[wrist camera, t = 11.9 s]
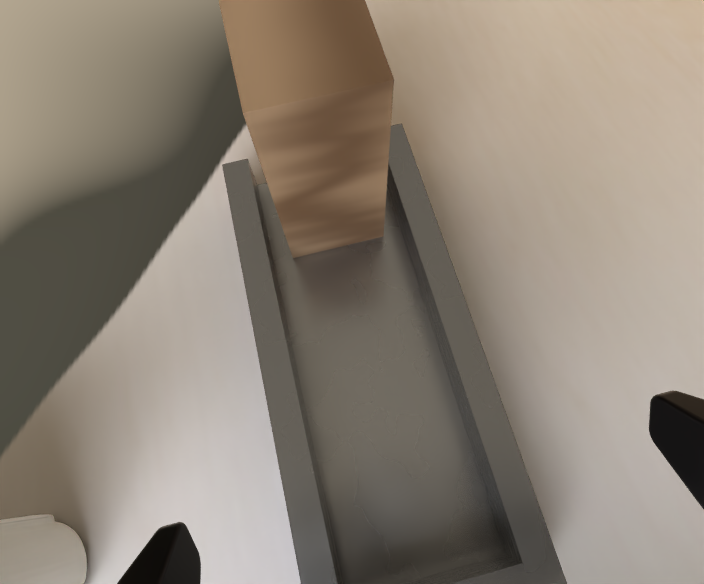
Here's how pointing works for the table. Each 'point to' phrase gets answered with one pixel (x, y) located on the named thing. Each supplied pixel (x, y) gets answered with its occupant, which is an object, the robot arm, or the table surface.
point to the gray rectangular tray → (385, 402)
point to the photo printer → (40, 552)
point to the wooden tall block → (315, 114)
